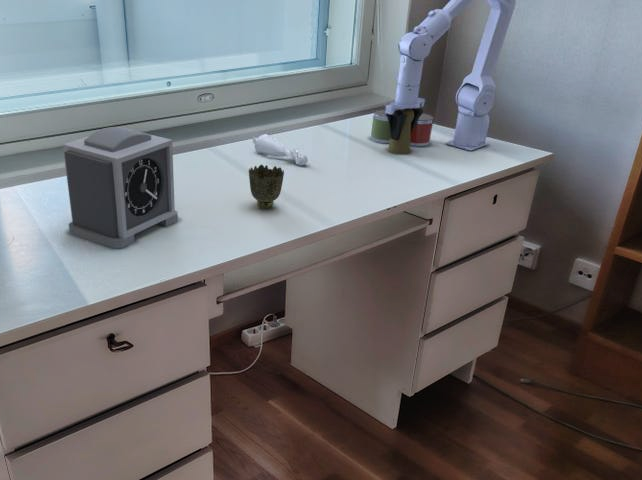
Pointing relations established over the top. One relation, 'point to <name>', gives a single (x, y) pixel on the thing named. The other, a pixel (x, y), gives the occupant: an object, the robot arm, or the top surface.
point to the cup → (265, 184)
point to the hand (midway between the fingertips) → (400, 137)
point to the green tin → (380, 127)
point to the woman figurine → (277, 150)
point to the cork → (403, 135)
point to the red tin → (422, 131)
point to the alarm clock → (119, 185)
